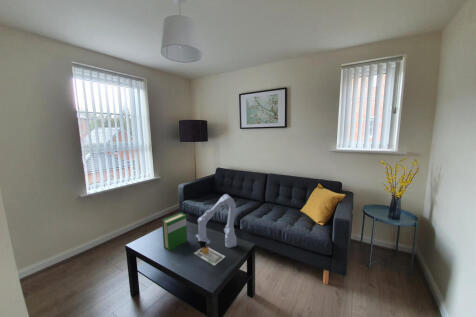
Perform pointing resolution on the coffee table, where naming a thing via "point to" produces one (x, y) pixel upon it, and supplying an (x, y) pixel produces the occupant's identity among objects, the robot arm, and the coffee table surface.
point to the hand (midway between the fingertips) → (202, 248)
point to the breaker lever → (205, 249)
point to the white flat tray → (210, 256)
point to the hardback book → (174, 231)
